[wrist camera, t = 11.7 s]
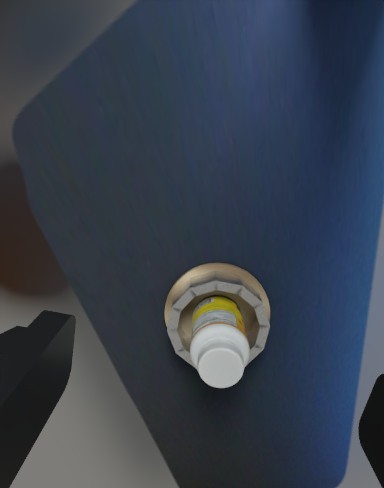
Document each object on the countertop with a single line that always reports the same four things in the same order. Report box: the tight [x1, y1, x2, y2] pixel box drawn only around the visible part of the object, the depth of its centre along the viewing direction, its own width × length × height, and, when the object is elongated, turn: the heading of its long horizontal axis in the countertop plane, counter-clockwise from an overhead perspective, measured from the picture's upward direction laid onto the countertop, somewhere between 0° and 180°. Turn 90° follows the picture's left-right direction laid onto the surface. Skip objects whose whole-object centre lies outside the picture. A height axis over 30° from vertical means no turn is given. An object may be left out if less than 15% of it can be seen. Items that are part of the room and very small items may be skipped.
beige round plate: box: [165, 263, 270, 338], centre depth 40 cm, size 12×12×1 cm
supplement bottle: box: [190, 294, 250, 388], centre depth 34 cm, size 6×6×10 cm
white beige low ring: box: [167, 270, 270, 368], centre depth 38 cm, size 10×10×3 cm
